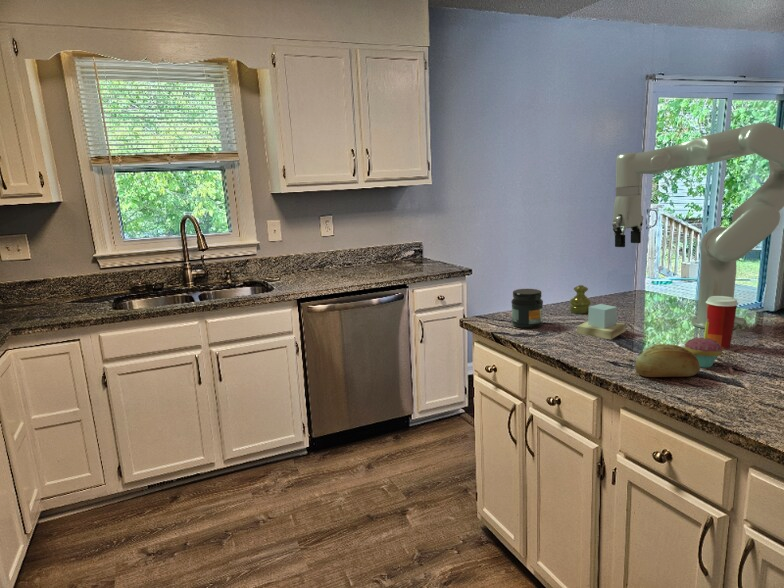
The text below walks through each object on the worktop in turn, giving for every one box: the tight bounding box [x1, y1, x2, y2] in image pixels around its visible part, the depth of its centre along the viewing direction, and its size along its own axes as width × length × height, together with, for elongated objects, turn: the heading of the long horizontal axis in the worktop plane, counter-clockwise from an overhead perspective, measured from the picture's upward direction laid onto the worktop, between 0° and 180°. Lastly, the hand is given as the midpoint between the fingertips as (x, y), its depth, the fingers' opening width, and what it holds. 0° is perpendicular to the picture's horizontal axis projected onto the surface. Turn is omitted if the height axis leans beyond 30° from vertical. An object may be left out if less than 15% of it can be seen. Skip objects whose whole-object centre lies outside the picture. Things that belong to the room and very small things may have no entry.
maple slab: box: [576, 320, 627, 340], centre depth 165 cm, size 11×11×3 cm
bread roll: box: [634, 343, 701, 378], centre depth 127 cm, size 10×15×8 cm, turn 84°
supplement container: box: [510, 288, 544, 329], centre depth 176 cm, size 10×10×12 cm
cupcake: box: [683, 319, 723, 368], centre depth 133 cm, size 9×8×12 cm
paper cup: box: [706, 296, 739, 350], centre depth 145 cm, size 8×8×14 cm
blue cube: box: [587, 303, 618, 329], centre depth 164 cm, size 6×6×6 cm
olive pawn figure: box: [569, 284, 592, 315], centre depth 190 cm, size 7×7×10 cm
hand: (627, 244), depth 169 cm, fingers open, 9 cm apart
